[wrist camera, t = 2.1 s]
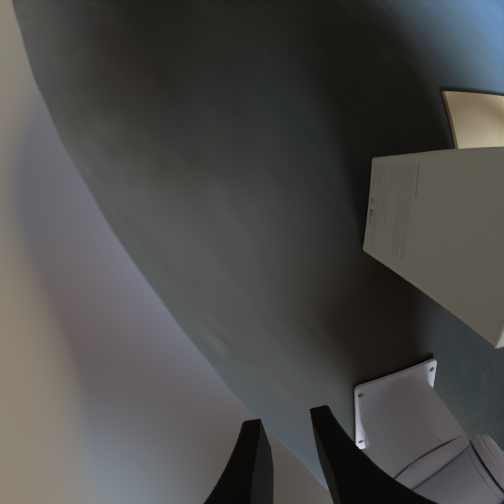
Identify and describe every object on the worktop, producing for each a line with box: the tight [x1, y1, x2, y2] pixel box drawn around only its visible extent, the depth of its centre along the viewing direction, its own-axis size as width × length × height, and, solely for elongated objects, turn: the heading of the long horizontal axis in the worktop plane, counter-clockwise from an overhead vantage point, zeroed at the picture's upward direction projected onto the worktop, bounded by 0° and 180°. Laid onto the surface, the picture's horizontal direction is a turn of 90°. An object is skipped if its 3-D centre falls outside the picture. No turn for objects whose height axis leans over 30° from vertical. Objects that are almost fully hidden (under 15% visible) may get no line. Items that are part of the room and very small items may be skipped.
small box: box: [363, 146, 504, 349], centre depth 12 cm, size 8×6×13 cm
